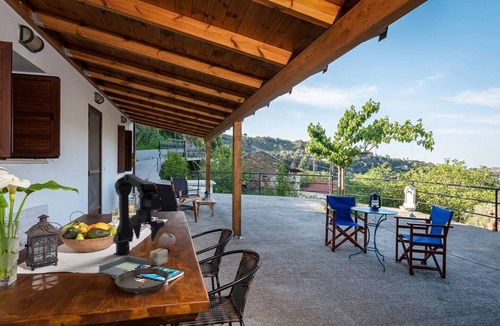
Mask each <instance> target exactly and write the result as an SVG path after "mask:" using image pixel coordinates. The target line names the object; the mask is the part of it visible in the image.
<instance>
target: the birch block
mask: <svg viewBox="0 0 500 326" xmlns="http://www.w3.org/2000/svg"><path fill="white" fill-rule="evenodd" d="M168 250H169V249H166V248H157V249H155V250H152V251H149V260H152V264H153V265H152V266H158V267H159V266H160V265H163V264H165V263H166V264H167V263H168V253H169V251H168Z"/></svg>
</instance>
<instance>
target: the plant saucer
mask: <svg viewBox="0 0 500 326" xmlns="http://www.w3.org/2000/svg"><path fill="white" fill-rule="evenodd" d="M140 274H156V275H160V276H162V277H164V278H165V281H163V282H161V281H154V280H150V279H146V281H144V283H142V282H139V281H136V280H135V279H137V278H136V277H135V276H137V275H140ZM169 278H170V274H169V272H167V271H166V270H163V269H160V268H153V267H149V268H143V269H135V270H131V271H127V272H125V273H122V274H121V275H119V276H118V277H117V276H116V278H115V280H114V282H115V284H116V285H117V287H118V288H119V289H121V290H122V291H124V292H128V293H133V294H134V293H135V294H136V293H137V294H139V293H140V294H141V293H142V294H143V293H147V292H148V293H149V292H151V291H155V290H158V289H160V288H161V287H162V286H163V285H165V283H166V282H167V281H168V279H169ZM142 285H144V286H142ZM137 287H141V288H137Z"/></svg>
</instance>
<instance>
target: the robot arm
mask: <svg viewBox="0 0 500 326" xmlns="http://www.w3.org/2000/svg"><path fill="white" fill-rule="evenodd" d="M133 187H135V188H136V191H137V193H139V195H138V196H137V197H138V198H139V209H138V210H137V211H136V214H134V215H133V216H131V217H130V200H129V199H130V195H131V193H132V191H133ZM114 189H115V193H116V195H117V196H118V208H119V211H118V212H119V213H118V214H119V215H118V216H119V218H118V219H119V224H118V226H117V227H116V229H115V230H116V232H115V234H114V235H113V238H112V243H113V244H115V252H114V253H113V255H116V256H120V257H121V256H123V257H124V256H127V255H129V254H132V252H131V250H130V249H131V248H130V247H131V245H130V243H132V242H133V239H134V236H135V238H136V240H139V239H140V235H141V231H142V230H141V229H142V225H149V230H150V240H151V242H154V241H155V239H156V237H157V234H158V233H159V231H160V229H162V228H163V227H165V221H164V220H163V219H154V217H153V215H152V214H153V212H154V211H158V210H160V209H161V208H162V206H163V201H162V199H161V198H160V197H159V191H158V189H157V187H156V185H155V183H154V181H149V180H144V179H142V178H141V177H138V176H136V174H134V173H124V175H123V176H121V177H120V178H118V179H117V180H116V181H115V183H114Z"/></svg>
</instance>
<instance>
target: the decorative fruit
mask: <svg viewBox="0 0 500 326" xmlns="http://www.w3.org/2000/svg"><path fill="white" fill-rule="evenodd" d="M158 243H159V245H160V246H161V247H162V248H163V249H165V250H169V249H170V248H172V247H173V246H174V245H175V243H176V236H175V235H173V234H172V233H168V231H166V232H162V233H161V234H160V237H159V238H158Z"/></svg>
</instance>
